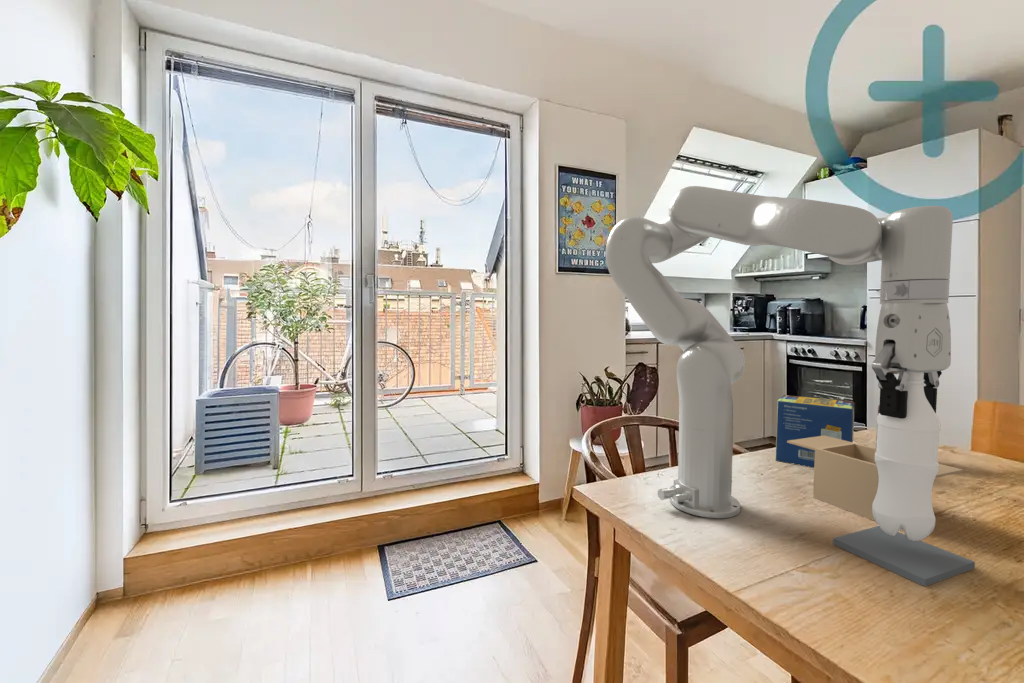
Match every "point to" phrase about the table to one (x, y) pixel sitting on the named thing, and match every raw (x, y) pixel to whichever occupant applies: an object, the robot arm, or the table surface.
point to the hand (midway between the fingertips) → (907, 413)
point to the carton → (848, 473)
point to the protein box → (810, 425)
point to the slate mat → (904, 555)
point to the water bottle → (907, 465)
